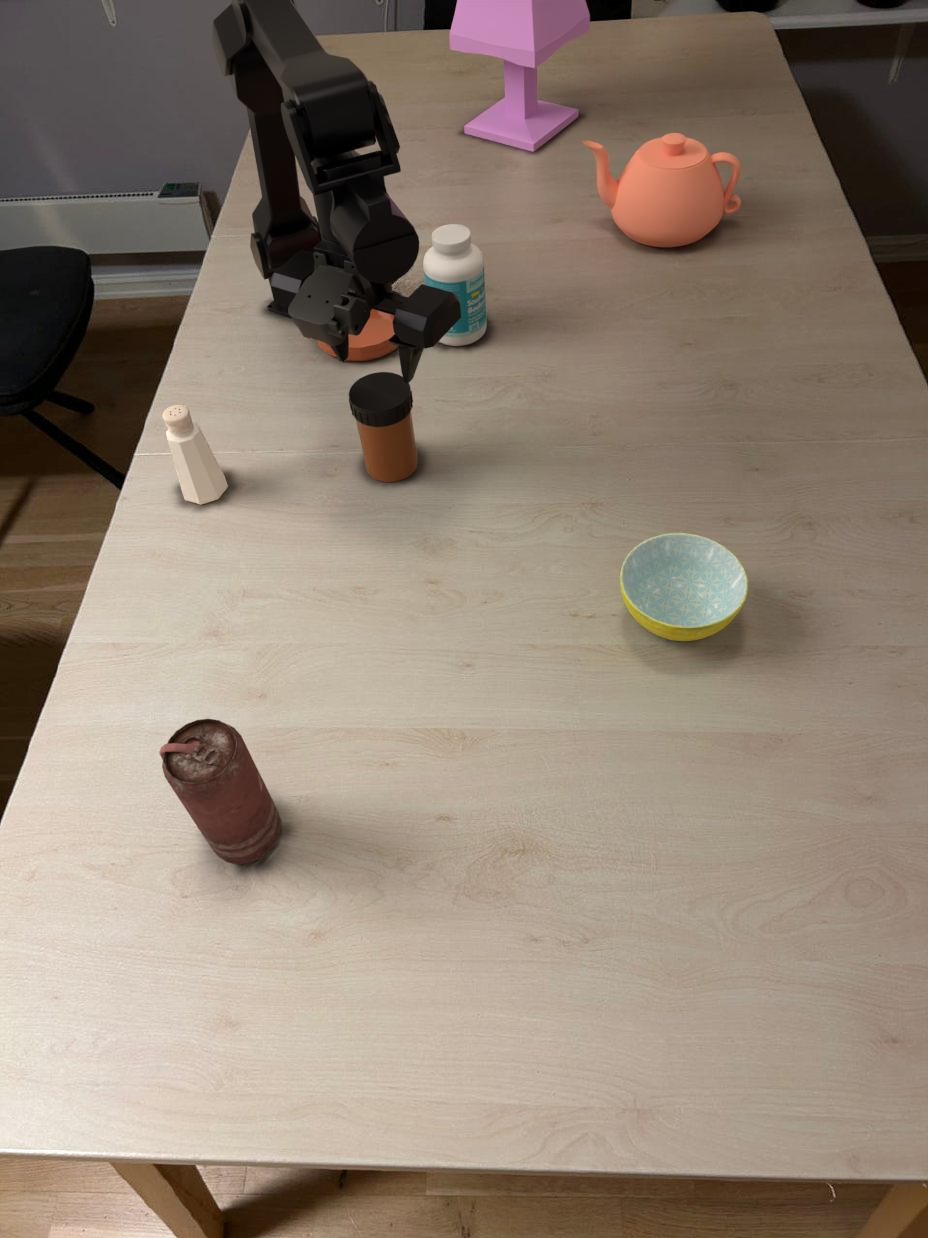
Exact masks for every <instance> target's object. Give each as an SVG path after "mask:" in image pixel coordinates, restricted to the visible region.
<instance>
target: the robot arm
mask: <svg viewBox="0 0 928 1238" xmlns="http://www.w3.org/2000/svg"><path fill="white" fill-rule="evenodd" d="M211 31H212V33H211V34H212V35H211V38H212V39H211V40H212V46H213V50H214V54H215V58H216V60H217V64H218V66H219V69H220V71H221V74H222V76H223V77H227V78H228V80H229V83H230V85H231V87H232V89H233V91H234V93H235V96H236V97H237V100H239V102H241V103H242V104H243V106H244V107H246V112H247V113H246V114H247V119H248V123H249V130H250V135H251V140H252V147H253V152H254V158H255V164H256V170H257V175H258V181H259V187H260V192H261V199H260V200H259V202H258V204H257V205H256V206H255V208H254V210H253V212H252V214H251V217H252V224H253V225H252V226H253V231H254V232H251V233H250V242H249V243H250V244H249V246H250V248H249V249H250V251H251V254H252V257H253V260H254V264H255V265H256V267H257V269H258V271H259V273H260V274H261V276H262V278H263V280H268V283H269V286H270V291H271V294H272V299H273V300H272V301H271V302H269V304H268V305H267V306H266V310H267V311H268V312H271V313H274V314H278V315H281V316H284V317H287V318H290V319H292V321H293V322H294V324H295V326H296V327H297V329H298V330H299V332H300V333H301V335H302V336H303V337H304V338H306V339H308V340H309V339H312V340H316V341H317V340H319V341H322V342H325V343H326V344H328V345H330V347H331V348H332V350H333V352H334V353H335V355H336V356H337V357H336V358H337V360H338V361H339V362H341V363H344V362H345V361H347V360H346V359H347V358H348V353H349V336H348V334H352V335H355V336H357V335H359V334H360V333H361V331H362V330H363V328H364V326H365V325H366V323H367V321H368V320H369V318H370V314H371V310H372V309H374V310H378V311H381V312H384V313H388V314H391V315H394V319H393V322H392V323H393V329H394V333H395V334H394V335H393V336H392V337H391V338H390V339H389V342H391V343H393V344H395V345H397V346H398V347H397V351H398V358H399V365H400V370H401V371H400V372H401V376H402V377H403V379H404V382H405V383H409V384H410V382H411V381H412V380H413V379H414V377H415V374H416V371H417V369H418V366H419V363H420V360H421V357H422V354H423V351H424V349H430V348H434V347H435V346H436V345H437V344H438V343H439V340H440V339H441V338H442V337H443V336H444V335H445V334H446V333H447V332H448V331H449V330H450V329H451V328H452V327H453V326H454V325H455V324H456V323H457V321H458V320H459V319H460V318H461V308H460V301H459V298H458V296H457V295H456V294H454V293H452V292H449V291H446V290H442V289H438V288H435V287H431V286H428V285H425V283H421V284H420V285H419V286H418V287H417V288H416V289H415V290H414V291H413V292H412V293H411V294H407V293H403V292H401V291H396V290H393V285H394V284H395V283H396V282H397V281H398V280H399V279H401V278H403V277H404V276H405V275H406V274H408V273H409V271H410V270H411V269H412V268H413V266H414V265H415V263H416V262H417V259H418V256H419V252H420V238H419V234H418V232H417V231H416V228H415V227H414V225H413V224H412V223H411V222H410V220H409V219H408V218H407V217H406V215H405V213H404V212H403V211H402V210H401V209H400V207H398V205H397V204H396V203H395V202H394V200H393V199H392V198H391V196H390V195H389V193H388V191H387V188H386V181H385V177H387V176H391V175H395V174H398V173H401V171H402V169H401V168H402V167H401V164H400V161H399V158H398V154H399V151H400V148H401V144H400V142H399V139H398V136H397V134H396V130H395V128H394V124H393V123H392V119H391V116H390V114H389V111H388V108H387V105H386V102H385V99H384V97H383V95H382V94H381V93H380V92H379V91H378V87H377V85H376V84H375V83H374V81H372V80H371V79H368V78H367V76H366V74H365V73H364V71H363V70H362V69H361V68H360V67H358V65H357V64H356V63H354V61H352V60H351V59H350V58H348V57H344V56H339V55H333V54H329V53H328V52H327V51H326V50H325V48H324V47H323V45H322V44H321V42H320V41H319V39H318V38H317V36H316V34H315V33H314V32H313V30H312V29H311V27H310V26H309V24H308V23H307V21H305V19H304V17H303V15H302V14H301V12H300V11H299V8H298V6H297V3H296V0H231V3H230V4H229V5H228V6H227V7H226V8H225V9H224V10H223V11H222V12H221V13H220V14H219V15H218V16H216V18H214V19H213V21H212V30H211ZM376 143H377V145H378V146H379V149H380V150H375V151H371V152H367V153H364V154H360V153H359V152H358V151H357V150H360V149H363V148H367V147H370V146H375V145H376ZM297 163H298V166H299V168H300V172H301V174H302V176H303V179H304V182H305V184H306V186H307V188H308V189H309V191H310V192H311V194H312V197H313V204H314V207H315V213H316V216H315V215H312V212H311V210H310V208H309V205H308V204H307V201H306V199H305V198H304V197H303V196H301V191H300V184H299V177H298V175H299V174H298V168H297V167H298V166H297Z"/></svg>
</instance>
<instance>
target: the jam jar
mask: <svg viewBox="0 0 928 1238" xmlns="http://www.w3.org/2000/svg"><path fill="white" fill-rule="evenodd" d="M355 421H356V426H357V430H358V431H357V432H358V436H359V440H360V445H361V450H362V456H363V460H364V461H363V462H364V465H365V470H366V472H367V474H368V475H369V476H370V477H371V478H372V479H374V480H376V481H379V482H382V483H383V482H384V483H394V482H395V483H396V482H399V481H403V480H405V479H406V478H408V477H410V476H412V474H414V472H416V470H417V468H418V465H419V457H418V449H417V444H416V443H417V442H416V437H415V429H414V422H413V414H412V411H411V412H410V413H409V415H408V416H407V417H406V418H404V419H403V420H402V421H400V422H398V423H396V424H393V425H390V426H385V427H372V426H367V425H364V424H362V423H360V422H359V421H357V420H356V419H355Z"/></svg>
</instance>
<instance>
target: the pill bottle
mask: <svg viewBox="0 0 928 1238" xmlns="http://www.w3.org/2000/svg"><path fill="white" fill-rule="evenodd" d="M422 269H423V277H424V285H428V286H431V287H435V288H438V289H442V290H446V291H449V292H452V293H454V294H456V295H457V296H458V298H459V301H460V308H461V318H460V319H459V320H458V321H457V323H456V324H455V325H454V326H453V327H452V328H451V329H450V330H449V331H448V332H447V333H446V334H445V335H444V336H443V337H442V338H441V339H440V340H439V341H438V343H440V344H443V345H445V346H453V347H462V346H467V345H470V344H473V343H475V342H477V341H479V340H480V339H481V338H482V337H483V336H484V335H485V333H486V331H487V326H488V320H487V319H488V318H487V301H486V300H487V299H486V282H485V281H486V279H485V278H486V277H485V259H484V255H483V252H482V251H481V249H480V248H479V246H477V245H476V244H474V243H472V233H471V230H470V229H469V228H468V227H467V226H465V225H463V224H458V223H450V224H449V223H448V224H444V225H441V226H438V227H437V228H435V229H434V230H433V231H432V233H431V246H430V248H428V249H427V251H426V252H425V254H424V256H423V260H422Z"/></svg>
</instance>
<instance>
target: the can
mask: <svg viewBox="0 0 928 1238" xmlns="http://www.w3.org/2000/svg"><path fill="white" fill-rule="evenodd" d="M158 752H159V755H160V758H161V759H162V764H161V769H162V772H163V775H164V778H165V780H166V782H167V783H168V784H169V786H170V787H171V789H172V790H173V792H174V794H175V795H176V796H177V798H178V800H179V801H180V803H181V804H182V806H183V807H184V809H185V810H186V812H187V814H188V815H189V816H190V818H191V819H192V821H193V823H194V825H196V827H197V828H198V830H199V832H200V833H201V835H202V836H203V838H204V839H205V841H206V842H207V844H208V845H209V847H210V848H211V850H212V851H213V852H214V854H215V855H216V857H218V858H219V859H221V860H223V861H225V862H226V863H229V864H235V865H243V864H250V863H252V862H255V861H257V860H260V859H261V858H263V857H264V856H265V855H267V854H268V853H269V852H271V851H272V849H273V848H274V846H275V845H276V843H277V842H278V841H279V838H280V834H281V831H282V818H281V815H280V812H279V810H278V808H277V806H276V804H275V802H274V800H273V798H272V795H271V794H270V791H269V790H268V787H267V786H266V784H265V782H264V779H263V777H262V775H261V773H260V771H259V769H258V767H257V765H256V763H255V761H254V759H253V756H252V754H251V753H250V750H249V749H248V747H247V745H246V742H245V740H244V738H243V737H242V735H241V733H239V731H237V729H236V728H235V727H234V726H232V725H231V724H228V723H226V722H223V721H221V720H220V719H213V718H201V719H195V720H193V721H191V722H188V723H185V724H184V725H183V726H181V727H180V728H178V729H177V730H176V731H175V732H174V733H173V734H172V735H171V737H170V738H169V739H168V740H167V743H165V744H163V745H162V746H161V747H160V749H159V751H158Z"/></svg>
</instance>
